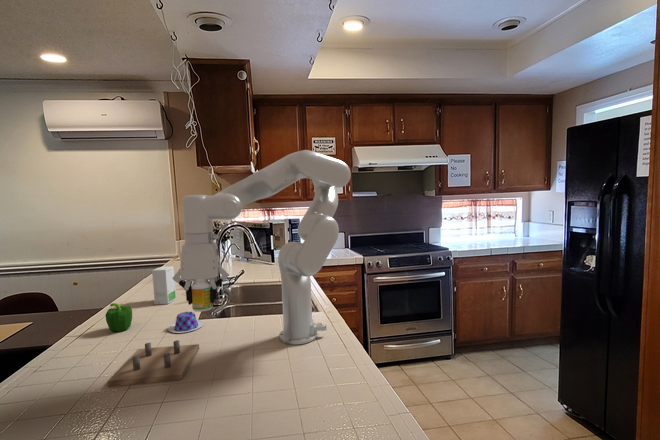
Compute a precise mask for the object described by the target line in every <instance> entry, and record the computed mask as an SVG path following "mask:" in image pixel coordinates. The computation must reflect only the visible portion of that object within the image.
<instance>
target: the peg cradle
mask: <svg viewBox="0 0 660 440" xmlns="http://www.w3.org/2000/svg"><path fill="white" fill-rule="evenodd" d="M199 350H200V344H198V343H196V344H187V345H186V344H185V345H180V340H174V341H173V346H172V345H171V346H161V347H152V343H151V342H146V343H144V348H138V349H137V350H136V351H135V352H134V353H133V354H132V355H131V356H130V357H129V358H128V359H126V361H125V362H124V363H123V364H122V365H121V366H120V367H119V369H118V370H117V371H116V372H115V373H113V375H112V376H111V377H110V378H109V379H107V387H118V386H128V385H129V386H131V385H140V384H142V385H143V384H152V383H153V384H154V383H162V382H174V381H182V380H183V378H184V377H185V375H186V373H187V371H188V369H189V367H190V366H191V364H192V362H193V361H194V359H195V357H196V355H197V354H198V352H199Z"/></svg>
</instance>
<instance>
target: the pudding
mask: <svg viewBox="0 0 660 440" xmlns="http://www.w3.org/2000/svg"><path fill="white" fill-rule="evenodd" d="M204 324H205V323H204V321H203V320H199V319H197V317H196V314H195V312H194V311H184V312H180V313H178V314H177V315H176V319H175V322H174V323H173V324H171V325H170V326H169V327H168V329H167V330H168V331H169V332H170V333H177V334H179V333H180V334H181V333H189V332H192V331H196V330H198V329H199V328H201V327H203V326H204Z"/></svg>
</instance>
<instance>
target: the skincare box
mask: <svg viewBox="0 0 660 440" xmlns="http://www.w3.org/2000/svg"><path fill="white" fill-rule="evenodd" d="M151 274H152V284H153V285H152V286H153V299H154V305H169V304H171V303H172V302H173V301H175V300H176V299H177V293H176V281H174V280H173V277H174V275H175V268H174V266H173V265H170V266H160V267H157V268H156V267H155V269H152V270H151Z"/></svg>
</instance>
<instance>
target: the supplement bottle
mask: <svg viewBox="0 0 660 440" xmlns="http://www.w3.org/2000/svg"><path fill="white" fill-rule="evenodd" d="M191 286H192V304H191V305H192V306H191V307H192V311H193V312H197V313H200V312H207V311H210V310H212V309H213V305H214V303H211V293H210V290H211V289H212V286H211V284H210V281H209V279H208V280H204V279H197V280H193V282H192V285H191Z"/></svg>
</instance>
